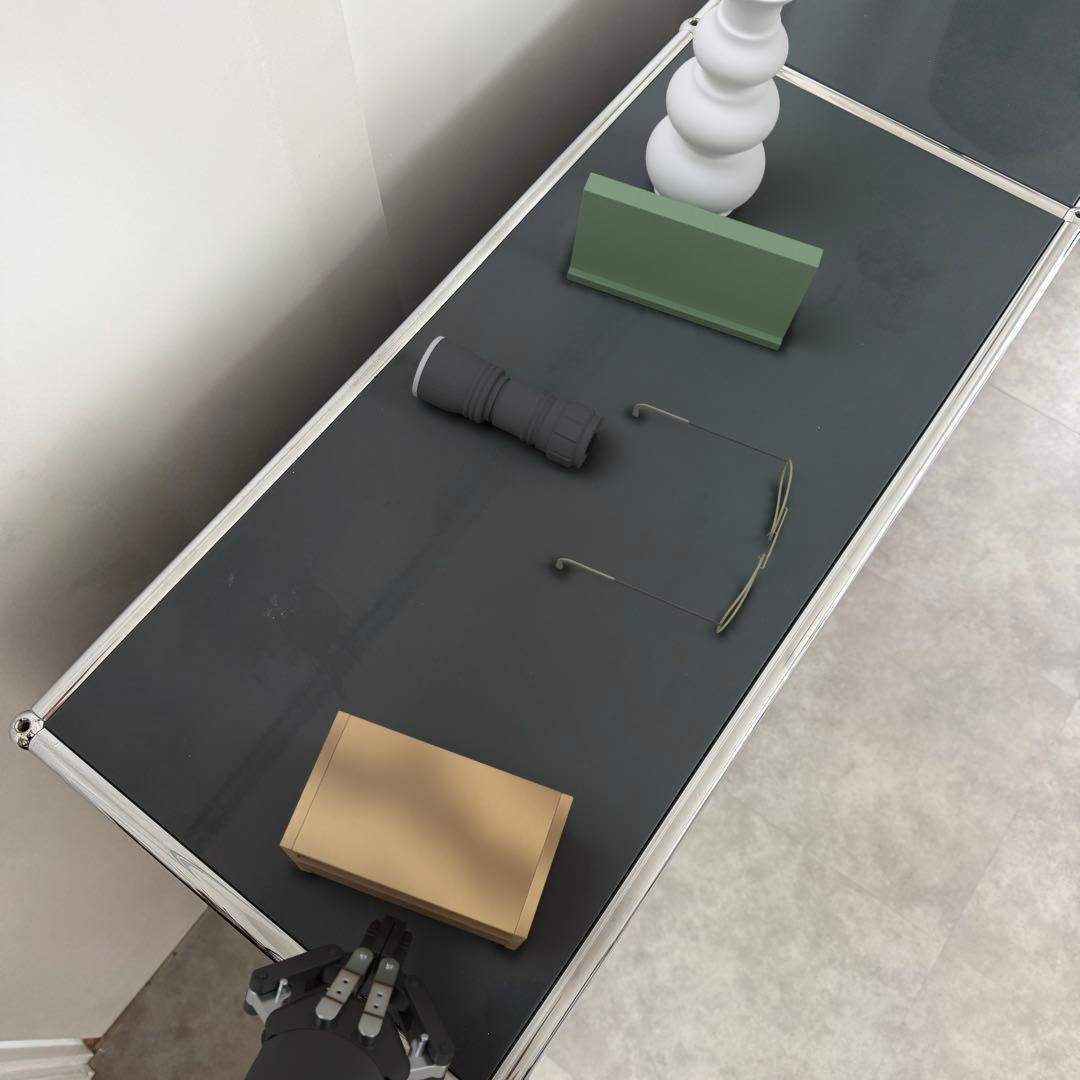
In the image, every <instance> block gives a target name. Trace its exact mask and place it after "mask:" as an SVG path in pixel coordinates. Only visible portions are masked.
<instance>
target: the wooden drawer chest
mask: <svg viewBox="0 0 1080 1080" xmlns="http://www.w3.org/2000/svg"><path fill="white" fill-rule="evenodd" d="M573 801H574V797H573V796H572V795H569V794H566V793H562V792H561V791H559V790H556V789H554V788H550V787H548V786H544V785H542V784H540V783H536V782H534V781H531V780H529V779H526V778H523V777H522V776H521V777H520V776H518V775H516V774H512V773H511V772H507V771H504V770H501V769H499V768H496V767H494V766H491V765H488V764H485V763H482V762H479V761H477V760H475V759H472V758H469V757H466V756H464V755H461V754H459V753H456V752H453V751H450V750H448V749H445V748H442V747H439V746H436V745H434V744H431V743H428V742H426V741H423V740H420V739H418V738H415V737H412V736H409V735H407V734H404V733H402V732H399V731H396V730H393V729H391V728H388V727H385V726H383V725H380V724H376V723H374V722H372V721H369V720H366V719H363V718H361V717H358V716H356V715H352V714H350V713H347V712H345V711H342V710H338V711H337V714H336V716H335V718H334V720H333V723H332V725H331V727H330V730H329V731H328V734H327V736H326V739H325V740H324V743H323V745H322V748H321V750H320V752H319V754H318V756H317V759H316V761H315V764H314V766H313V767H312V771H311V773H310V775H309V777H308V779H307V782H306V784H305V786H304V789H303V790H302V793H301V795H300V798H299V800H298V802H297V804H296V806H295V808H294V812H293V813H292V815H291V818H290V820H289V822H288V825H287V827H286V829H285V831H284V834H283V836H282V839H281V840H280V843H279V847H280V848H281V849H282V850H283V851H284V852H285V854H287V856H288V857H289V858H290V859H291V861H293V862H294V864H295V865H296V866H297V867H298V868H299V869H300V870H301V871H304V872H307V873H312V874H315V875H318V876H320V877H322V878H325V879H327V880H331V881H333V882H336V883H338V884H341V885H344V886H345V887H349V888H351V889H354V890H357V891H359V892H362V893H365V894H368V895H370V896H373V897H375V898H378V899H381V900H383V901H386V902H387V903H391V904H394V905H397V906H399V907H402V908H405V909H407V910H409V911H412V912H415V913H417V914H420V915H423V916H426V917H428V918H430V919H433V920H436V921H439V922H442V923H443V924H447V925H449V926H451V927H455V928H457V929H460V930H462V931H465V932H468V933H470V934H473V935H475V936H478V937H481V938H484V939H485V940H489V941H491V942H494V943H497V944H499V945H502V946H504V948H507V949H509V950H511V951H516V950H517V949H518V948H519V947H520V946H521V945H522V943H523V942H524V941H526V940H527V938H528V935H529V933H530V930H531V926H532V924H533V921H534V917H535V914H536V911H537V909H538V906H539V902H540V900H541V897H542V893H543V891H544V888H545V884H546V882H547V878H548V875H549V872H550V871H551V867H552V864H553V861H554V858H555V854H556V851H557V849H558V846H559V843H560V840H561V837H562V834H563V832H564V831H563V830H564V828H565V825H566V822H567V819H568V815H569V813H570V810H571V806H572V804H573Z"/></svg>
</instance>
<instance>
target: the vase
mask: <svg viewBox="0 0 1080 1080" xmlns="http://www.w3.org/2000/svg"><path fill="white" fill-rule="evenodd" d="M792 1H794V0H721V1H720V2H719V4H718V5H715V6H713V7H712V8H710V9H708V11H707V12H705V13H704V14H703V15H702V16H701V18H700V19H699V21H698V22H697V24H696V26H695V29H694V31H693V35H692V49H693V54H694V56H693V57H691V58H689V59H688V60H686V61H685V62H683V64H682V65H680V66H679V68H677V70H676V71H675V72H674V73H673V75H672V77H671V78H670V81H669V83H668V86H667V89H666V94H665V106H666V112H667V114H666V115H665V116H664V117H663V118H662V119H661V120H660V121H659V122H658V123H657V125H656V126H655V127H654V129H652V132H651V134H650V136H649V138H648V141H647V144H646V149H645V165H646V167H645V168H646V171H647V175H648V178H649V180H650V182H651V184H652V186H653V190H654V193H655V194H658V195H661V196H664V197H667V198H670V199H673V200H676V201H679V202H682V203H685V204H688V205H691V206H694V207H697V208H700V209H703V210H706V211H709V212H712V213H715V214H718V215H721V216H724V217H727V216H729V215H730V214H731V213H732V212H733V211H734V210H735V209H738V208H739V207H741V206H742V205H743V204H745V203H746V202H747V201H748V200H749V199H750V198H751V197H752V196H753V195H754V194H755V192H756V191H757V190H758V188H759V187H760V184H761V182H762V180H763V178H764V175H765V169H766V152H765V148H764V143H763V141H765V140H766V138H767V137H768V136H769V135H770V134H771V133H772V131H773V129H774V128H775V126H776V123H777V122H778V119H779V114H780V107H781V106H780V105H781V104H780V103H781V101H780V95H779V91H778V87H777V85H776V83H775V81H774V79H773V78H774V77H776V76H777V75H778V74H779V72H780V71H781V70H782V68H783V67H784V65H785V64H786V61H787V58H788V54H789V47H790V46H789V37H788V34H787V31H786V29H785V26H784V24H783V23H782V16H781V12H782V9H783V6H785V5H787V4H789V3H790V2H792Z"/></svg>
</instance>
